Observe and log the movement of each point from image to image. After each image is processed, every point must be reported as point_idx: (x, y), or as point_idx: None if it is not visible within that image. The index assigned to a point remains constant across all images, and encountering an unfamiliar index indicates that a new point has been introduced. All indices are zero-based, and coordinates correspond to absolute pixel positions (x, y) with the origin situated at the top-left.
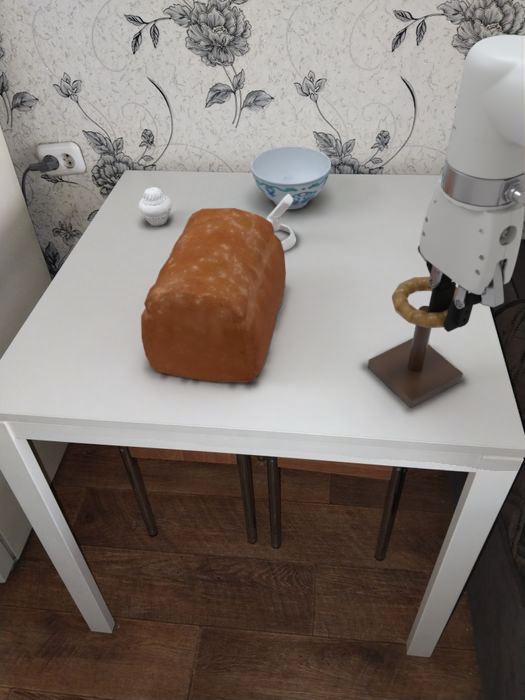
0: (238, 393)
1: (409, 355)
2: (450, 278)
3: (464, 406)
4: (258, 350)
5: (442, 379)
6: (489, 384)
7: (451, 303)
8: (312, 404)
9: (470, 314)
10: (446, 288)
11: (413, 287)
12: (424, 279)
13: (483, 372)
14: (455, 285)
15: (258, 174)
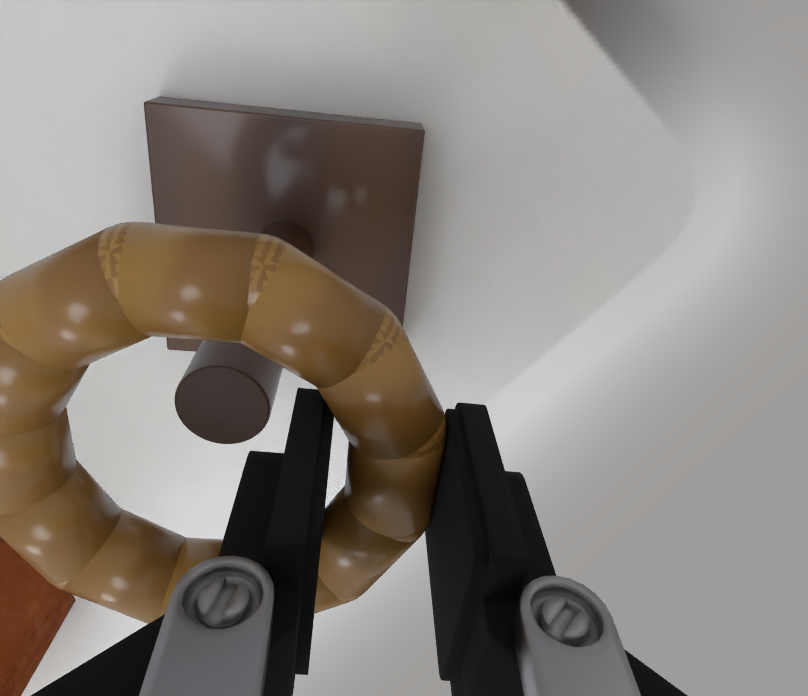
0: (95, 613)
1: (227, 224)
2: (270, 648)
3: (504, 212)
4: (11, 661)
5: (395, 220)
6: (506, 44)
7: (445, 676)
8: (223, 520)
9: (536, 515)
10: (301, 613)
11: (48, 470)
12: (9, 399)
13: (450, 3)
14: (306, 531)
15: None
